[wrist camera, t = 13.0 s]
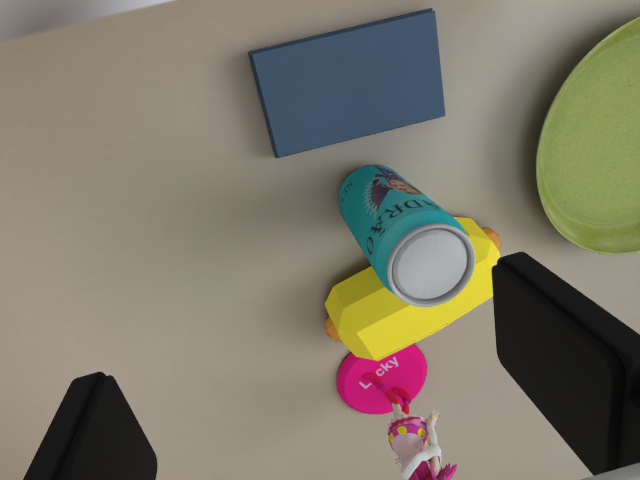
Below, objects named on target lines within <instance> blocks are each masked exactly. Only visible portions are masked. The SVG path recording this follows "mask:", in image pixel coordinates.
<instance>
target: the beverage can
mask: <svg viewBox="0 0 640 480" xmlns="http://www.w3.org/2000/svg"><path fill="white" fill-rule="evenodd" d="M338 204H339V209H340V212H341V215H342V217H343V218H344V220H345V222H346V223H347V225H348V227H349V228H350V230H351V232H352V234H353V235H354V237H355V239H356V240H357V242H358V244H359V245H360V247H361V249H362V250H363V252H364V254H365V255H366V257H367V259H368V261H369V262H370V264H371V266H372V267H373V269H374V271H375V272H376V274H377V276H378V277H379V279H380V281H381V282H382V284H383V285H384V286H385V287H386V288H387V289H388V290H389V291H390V292H392V293H393V294H395V295H396V296H397V297H398V298H399V299H401V300H402V301H404V302H405V303H407V304H410V305H413V306H417V307H432V306H437V305H440V304H443V303H445V302H447V301H449V300H451V299H452V298H454V297H455V296H456V295H458V294H459V293H460V292H461V291H462V290H463V289H464V288H465V286H466V285H467V284H468V282H469V280H470V278H471V276H472V274H473V271H474V267H475V251H474V248H473V245H472V243H471V241H470V239H469V238H468V237H467V235H466V232H465V230H464V229H463V227H462V226H461V224H460V223H459V222H458V221H457V220H456V219H454V218H453V217H452V216H450V215H449V214H448V213H447V212H445V211H444V210H443V209H442V208H440V207H439V206H438V205H436V204H435V203H434V202H433V201H431V200H430V199H429V198H428V197H426V196H425V195H424V194H423V193H421V192H420V191H419V190H417V189H416V188H415V187H414V186H412V185H411V184H410V183H409V182H407V181H406V180H405V179H403V178H402V177H401V176H400V175H398V174H397V173H396V172H395V171H393V170H392V169H390V168H388V167H385V166H382V165H368V166H364V167H361V168H359V169H357V170H355V171H354V172H353V173H351V174H350V175H349V176H348V177H347V178H346V180H345V181H344V183H343V185H342V186H341V189H340V192H339V198H338Z"/></svg>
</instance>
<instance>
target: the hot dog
mask: <svg viewBox="0 0 640 480" xmlns="http://www.w3.org/2000/svg"><path fill="white" fill-rule="evenodd" d="M453 218H454V219H456V220H457V221H458V222H459V223H460V224H461V226H462V227H463V229H464V230H465V232H466V235H467V237H468V238H469V239H470V241H471V243H472V245H473V248H474V251H475V267H474V271H473V274H472V276H471V278H470V280H469V282H468V284H467V285H466V286H465V288H464V289H463V290H462V291H461V292H460V293H459V294H458V295H456V296H455V297H454V298H452V299H451V300H449V301H447V302H445V303H443V304H440V305H437V306H432V307H417V306H413V305H410V304H407V303H405V302H404V301H402V300H401V299H399V298H398V297H397V296H396V295H395V294H393V293H392V292H390V291H389V290H388V289H387V288H386V287H385V286H384V285H383V284H382V282H381V281H380V279H379V277H378V276H377V274H376V272H375V271H374V269H373V267H372V266H370V267H368V268H367V269H365V270H363V271H361V272H359V273H357V274H355V275H353V276H352V277H350V278H348V279H346V280H344V281H342V282H340V283H339V284H337V285H335V286H333V288H332V290H331V292H330V294H329V296H328V298H327V300H326V302H325V304H324V305H325V307H326V309H327V312H328V314H329V317H328V318H327V320H326V321H325V328H326V334H327V335H328V336H329V337H331V338H332V339H333V340H335V341H336V342H338V341H342V342H343V343H344V344H345V345H346V346H347V347H348V349H349V350H350V351H351V352H352V353H353V354H354V355H355V356H356V357H360V358H365V359H370V360H375V361H379V360H381V359H383V358H385V357H387V356H389V355H391V354H393V353H395V352H397V351H399V350H401V349H403V348H405V347H407V346H409V345H411V344H413V343H415V342H417V341H419V340H421V339H423V338H425V337H427V336H429V335H431V334H433V333H435V332H437V331H439V330H441V329H442V328H444V327H446V326H447V325H449V324H450V323H452V322H453V321H455V320H457V319H458V318H460V317H461V316H463V315H464V314H466V313H467V312H469V311H471V310H472V309H474V308H475V307H477V306H478V305H480V304H482V303H483V302H485V301H486V300H488V299H489V298H491V297H493V287H492V267H493V266H494V265H497V261H498V259H499V258H500V254H499V251H498V250H499V248H500V246H501V244H500V240H499V236H498V234H497V233H495V232H494V231H493V230H491V229H490V228H480V227H479V226H478V225H477V224H476V223H475V221H474V220H473V219H472V218H461V217H453Z"/></svg>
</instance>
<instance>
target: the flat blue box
mask: <svg viewBox="0 0 640 480" xmlns="http://www.w3.org/2000/svg"><path fill="white" fill-rule="evenodd" d="M248 54H249V58H250V62H251V66H252V69H253V73H254V77H255V81H256V85H257V89H258V92H259V96H260V100H261V104H262V108H263V112H264V115H265V119H266V123H267V127H268V131H269V135H270V138H271V142H272V146H273V150H274V154H275V157H276V158H280V157H284V156H288V155H292V154H296V153H300V152H304V151H308V150H312V149H316V148H320V147H323V146H327V145H331V144H335V143H339V142H343V141H347V140H351V139H355V138H359V137H363V136H367V135H371V134H375V133H379V132H383V131H387V130H391V129H395V128H399V127H403V126H407V125H411V124H415V123H419V122H423V121H427V120H431V119H435V118H439V117H443V116H445V108H444V98H443V88H442V78H441V68H440V58H439V48H438V38H437V28H436V17H435V11H433V9H432V8H431V9H427V10H422V11H418V12H414V13H410V14H405V15H401V16H397V17H393V18H389V19H384V20H380V21H376V22H372V23H367V24H363V25H359V26H355V27H351V28H346V29H342V30H338V31H334V32H330V33H325V34H321V35H317V36H313V37H308V38H304V39H300V40H296V41H292V42H287V43H283V44H279V45H275V46H270V47H266V48H262V49H258V50H254V51H249V52H248Z"/></svg>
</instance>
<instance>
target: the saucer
mask: <svg viewBox="0 0 640 480" xmlns="http://www.w3.org/2000/svg"><path fill="white" fill-rule="evenodd" d="M536 181H537V187H538V193H539V196H540V200H541V203H542V206H543V209H544V211H545V213H546V215H547V217H548V218H549V220H550V222H551V223H552V225H553V226H554V227H555V228H556V230H557V231H558V232H559V233H560V234H561V235H562V236H563V237H564V238H566V239H567V240H568V241H570V242H571V243H573V244H574V245H576V246H578V247H580V248H582V249H585V250H588V251H591V252H595V253H599V254H606V255H624V254H632V253H638V252H640V17H638V18H635V19H633V20H631V21H630V22H628V23H626V24H624V25H623V26H621V27H620V28H618V29H617V30H615V31H614V32H612V33H611V34H609V35H608V36H607V37H605V38H604V39H603V40H602V41H601V42H599V43H598V44H597V45H596V46H595V47H594V48H593V49H592V50H591V51H589V52H588V53H587V54H586V55H585V56H584V58H583V59H582V60H581V61H580V62H579V63H578V64H577V65H576V66H575V68H574V69H573V70H572V71H571V73H570V74H569V75H568V77H567V78H566V79H565V81H564V82H563V84H562V85H561V87H560V89H559V90H558V92H557V94H556V96H555V97H554V99H553V101H552V103H551V105H550V107H549V109H548V112H547V114H546V117H545V119H544V122H543V125H542V128H541V132H540V136H539V140H538V145H537V152H536Z"/></svg>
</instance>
